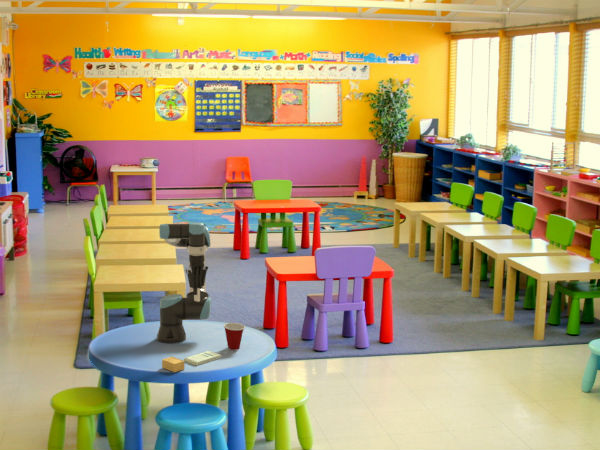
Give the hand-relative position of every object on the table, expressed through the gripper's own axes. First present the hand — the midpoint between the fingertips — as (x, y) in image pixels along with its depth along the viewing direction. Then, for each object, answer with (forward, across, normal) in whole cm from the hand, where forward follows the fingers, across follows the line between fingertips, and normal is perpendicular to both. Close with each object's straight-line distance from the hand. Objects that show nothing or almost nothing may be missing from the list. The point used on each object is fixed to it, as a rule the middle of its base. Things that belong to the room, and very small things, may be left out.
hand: (197, 300), depth 402 cm
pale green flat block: (+26, -6, -10) cm, 29 cm away
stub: (+26, -24, -10) cm, 37 cm away
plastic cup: (+27, +17, -9) cm, 33 cm away
